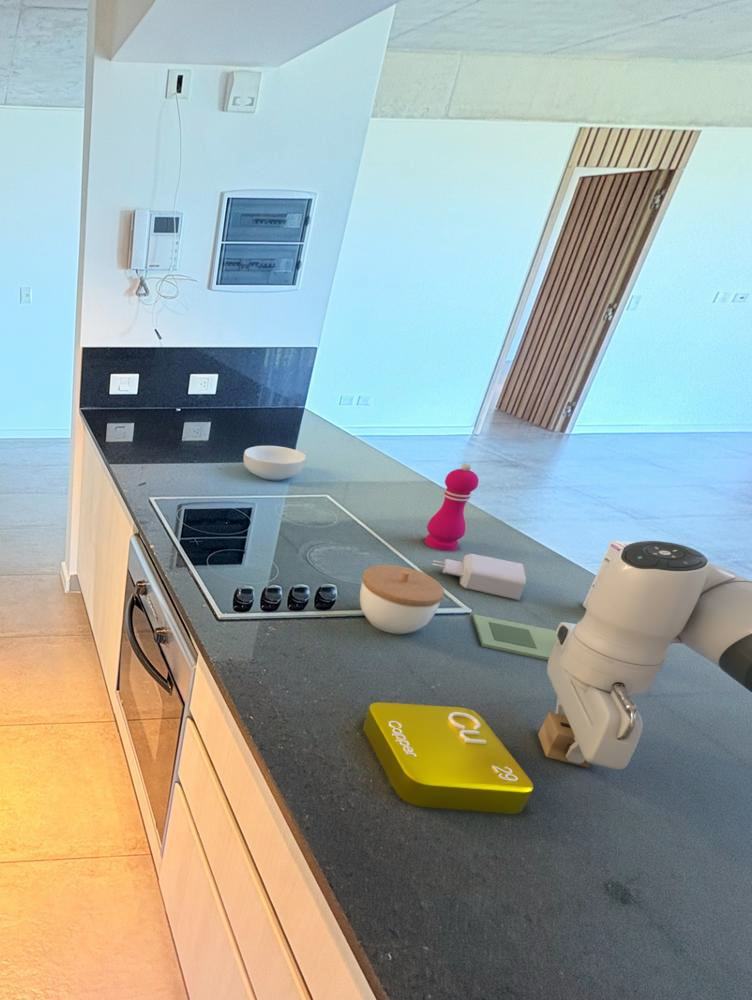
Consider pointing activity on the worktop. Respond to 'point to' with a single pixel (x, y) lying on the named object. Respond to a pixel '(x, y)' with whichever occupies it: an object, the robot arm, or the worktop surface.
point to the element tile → (445, 758)
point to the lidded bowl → (399, 598)
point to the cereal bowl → (274, 462)
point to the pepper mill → (452, 510)
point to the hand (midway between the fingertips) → (566, 743)
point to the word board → (515, 637)
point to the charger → (487, 575)
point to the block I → (557, 737)
